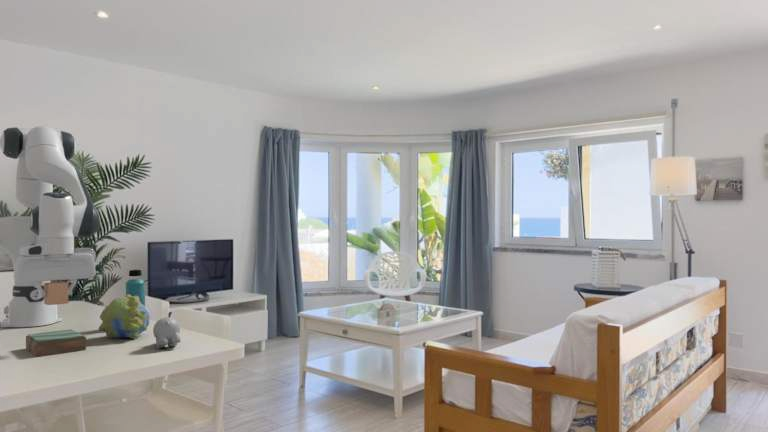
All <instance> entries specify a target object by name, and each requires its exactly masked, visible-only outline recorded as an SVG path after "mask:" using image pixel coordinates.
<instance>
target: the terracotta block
mask: <svg viewBox="0 0 768 432" xmlns="http://www.w3.org/2000/svg"><path fill="white" fill-rule="evenodd" d="M68 288H69V281H65V280H62V281H51V282H47V283H44V291H47V297H44V304H46V305H57V306H58V305H65V304H66V305H67V304H69V295H68Z"/></svg>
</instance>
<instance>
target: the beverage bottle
mask: <svg viewBox="0 0 768 432" xmlns="http://www.w3.org/2000/svg"><path fill="white" fill-rule="evenodd" d="M142 275H143V274H142V270H141V269H130V270H129V271H128V277H141V276H142ZM145 283H146V282H145V280H143V279H141V278H132V279H128V280H127V281H126V282H125V296H126V295H127V294H129V295H131V296H138V297H139V300H140V302H141V304H144V305H145V306H146V284H145Z"/></svg>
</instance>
